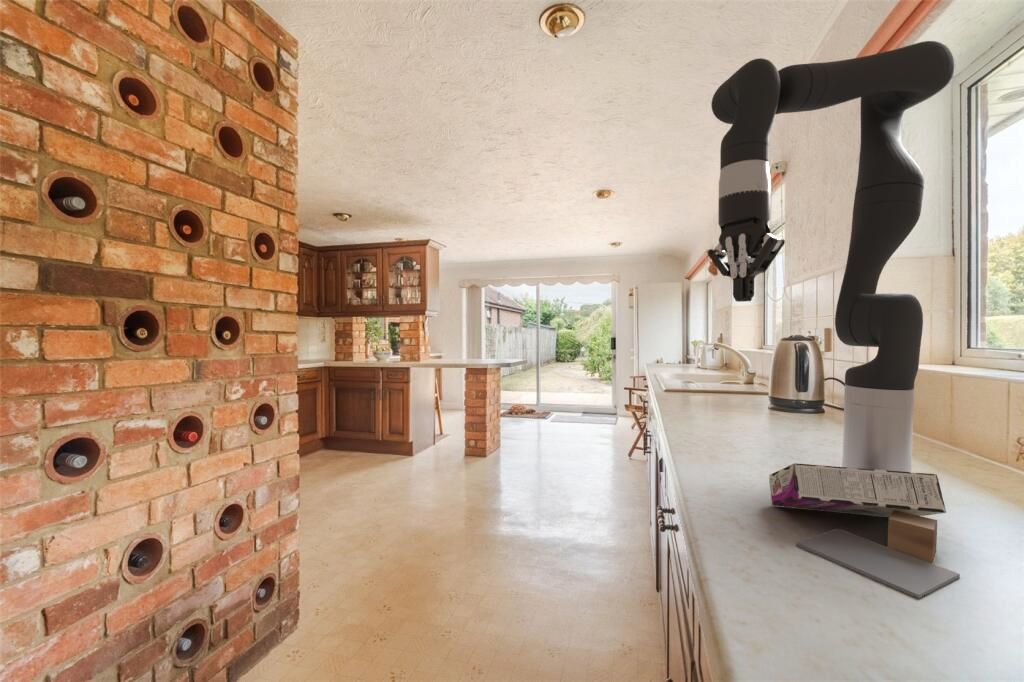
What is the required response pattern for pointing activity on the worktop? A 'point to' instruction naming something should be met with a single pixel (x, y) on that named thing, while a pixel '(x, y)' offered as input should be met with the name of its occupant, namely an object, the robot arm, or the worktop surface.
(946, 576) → the plate
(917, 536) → the walnut block
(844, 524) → the worktop surface
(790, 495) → the candy bar box
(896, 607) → the worktop surface
